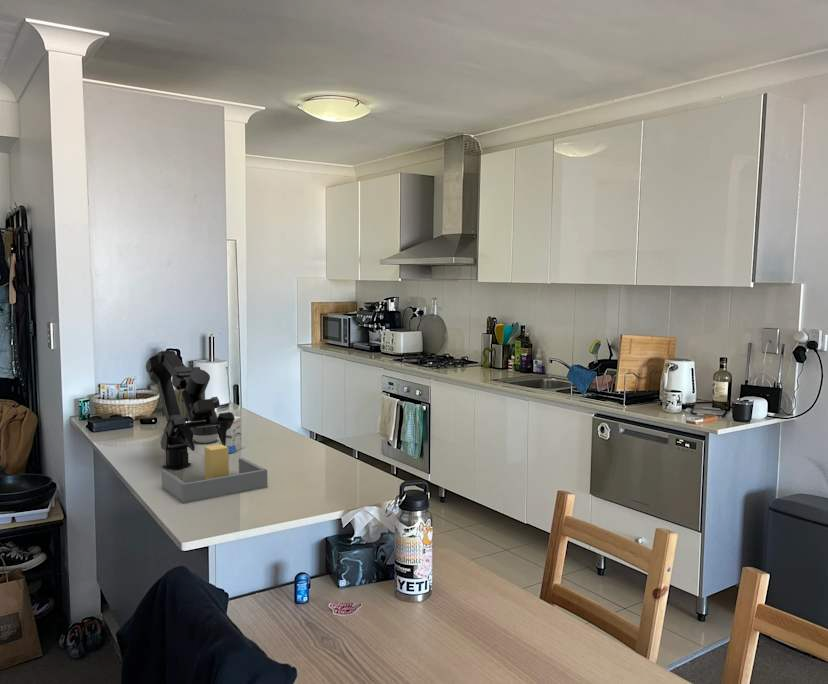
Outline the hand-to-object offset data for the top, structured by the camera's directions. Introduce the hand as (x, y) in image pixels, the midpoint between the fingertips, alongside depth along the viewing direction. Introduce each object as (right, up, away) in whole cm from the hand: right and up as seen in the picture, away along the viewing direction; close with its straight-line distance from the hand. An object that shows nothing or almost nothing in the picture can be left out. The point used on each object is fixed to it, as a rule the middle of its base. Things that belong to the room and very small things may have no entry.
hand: (209, 447), depth 201 cm
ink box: (-6, -8, +45) cm, 46 cm away
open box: (+2, -12, -2) cm, 12 cm away
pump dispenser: (-18, -7, +58) cm, 61 cm away
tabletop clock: (-32, -5, +79) cm, 86 cm away
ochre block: (+3, -11, -3) cm, 12 cm away
